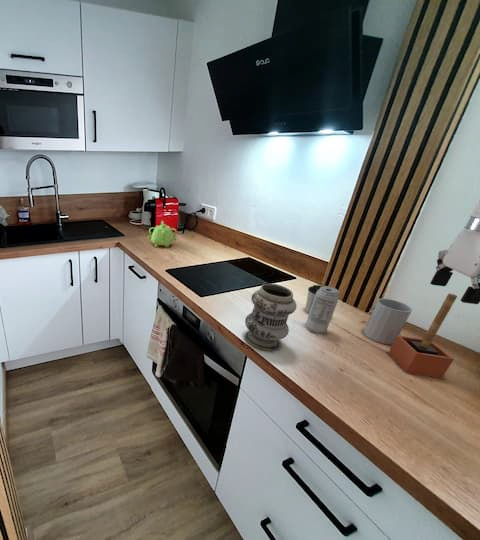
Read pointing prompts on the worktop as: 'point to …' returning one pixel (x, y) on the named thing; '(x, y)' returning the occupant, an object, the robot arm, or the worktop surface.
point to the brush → (434, 327)
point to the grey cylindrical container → (387, 320)
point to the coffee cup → (311, 297)
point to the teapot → (162, 235)
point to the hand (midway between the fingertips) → (452, 293)
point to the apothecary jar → (269, 316)
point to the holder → (419, 358)
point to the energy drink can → (322, 309)
